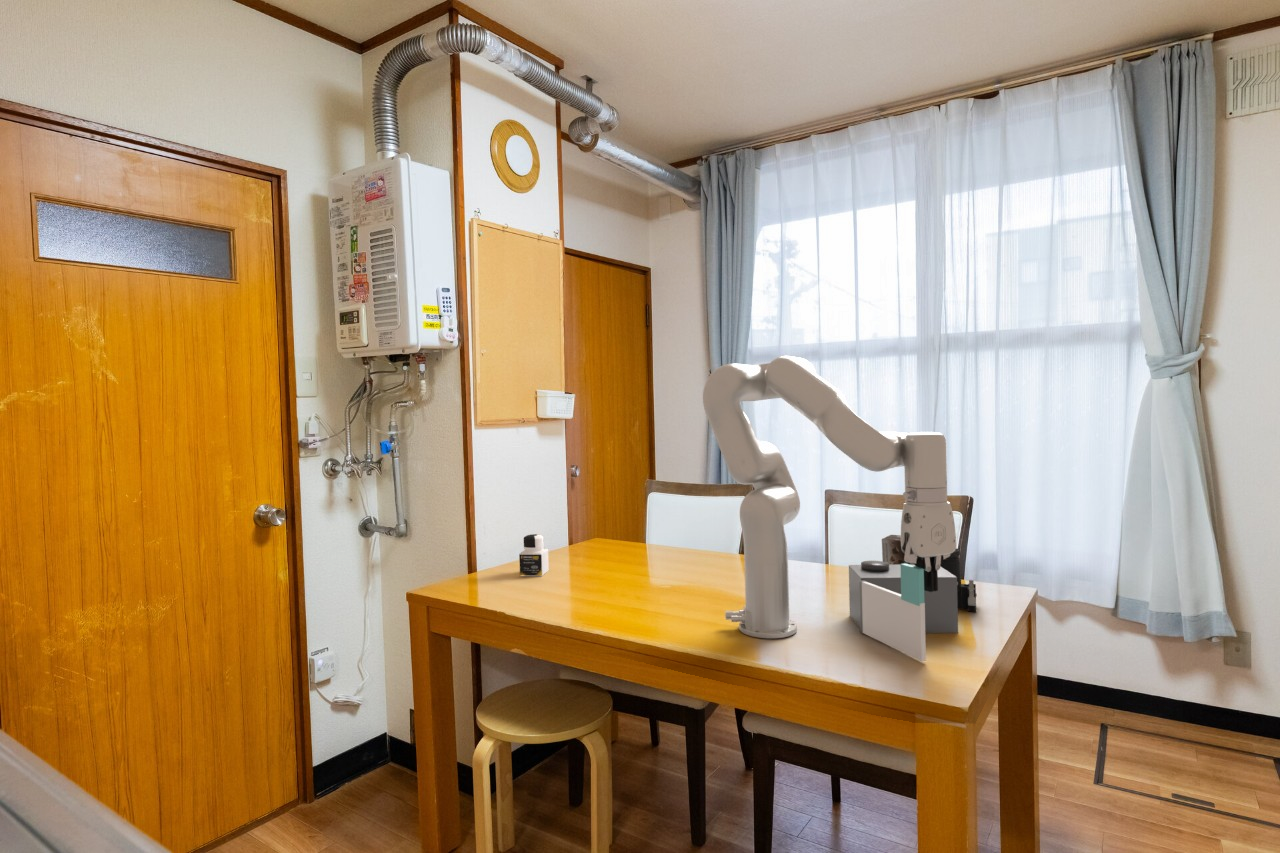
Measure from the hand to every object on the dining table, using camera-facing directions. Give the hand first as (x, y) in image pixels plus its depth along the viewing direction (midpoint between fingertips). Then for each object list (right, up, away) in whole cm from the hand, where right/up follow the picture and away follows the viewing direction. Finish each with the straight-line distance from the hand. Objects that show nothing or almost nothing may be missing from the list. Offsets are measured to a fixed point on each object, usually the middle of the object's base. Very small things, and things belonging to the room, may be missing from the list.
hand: (928, 589), depth 130 cm
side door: (-5, -13, +6) cm, 15 cm away
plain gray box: (+3, -13, +20) cm, 24 cm away
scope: (+20, -12, +32) cm, 39 cm away
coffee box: (+10, -12, +37) cm, 40 cm away
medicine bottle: (-89, -14, +77) cm, 119 cm away
